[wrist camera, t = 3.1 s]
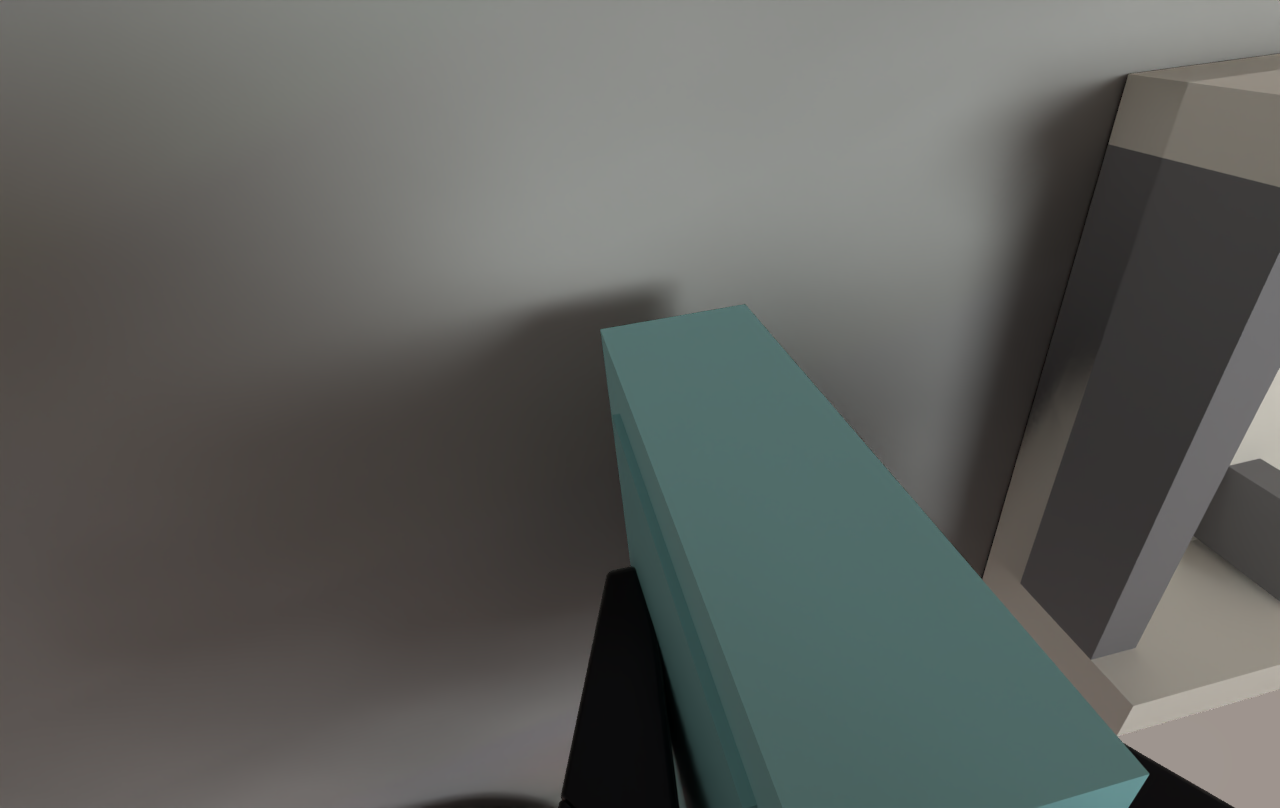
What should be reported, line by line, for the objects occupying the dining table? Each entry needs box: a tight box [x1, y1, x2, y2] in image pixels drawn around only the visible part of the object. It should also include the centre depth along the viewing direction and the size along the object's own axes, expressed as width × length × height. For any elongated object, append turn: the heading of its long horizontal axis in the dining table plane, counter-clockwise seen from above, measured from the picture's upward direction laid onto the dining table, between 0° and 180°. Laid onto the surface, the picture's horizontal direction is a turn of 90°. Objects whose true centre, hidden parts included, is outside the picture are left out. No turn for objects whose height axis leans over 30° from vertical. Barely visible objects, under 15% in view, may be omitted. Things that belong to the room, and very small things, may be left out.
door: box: [600, 304, 1149, 808], centre depth 8 cm, size 2×7×6 cm, turn 5°
